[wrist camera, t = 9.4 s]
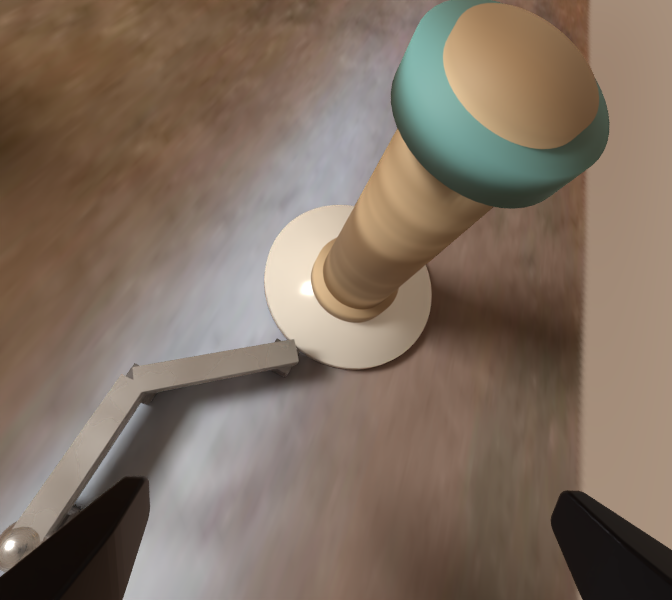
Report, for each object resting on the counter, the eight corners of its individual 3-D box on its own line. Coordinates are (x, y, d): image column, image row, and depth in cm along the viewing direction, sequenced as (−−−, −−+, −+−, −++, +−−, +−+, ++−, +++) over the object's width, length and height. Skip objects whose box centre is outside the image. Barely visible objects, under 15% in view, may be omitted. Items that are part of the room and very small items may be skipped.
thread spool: (346, 348, 19) (543, 206, 7) (284, 268, 20) (372, 12, 8) (415, 293, 21) (660, 110, 9) (357, 222, 21) (517, -39, 10)
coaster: (391, 401, 19) (396, 400, 19) (230, 315, 19) (230, 311, 18) (446, 260, 23) (451, 256, 22) (312, 183, 22) (314, 177, 22)
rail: (163, 617, 15) (151, 650, 12) (9, 547, 14) (-32, 568, 12) (298, 354, 19) (308, 344, 17) (185, 294, 18) (179, 275, 16)
